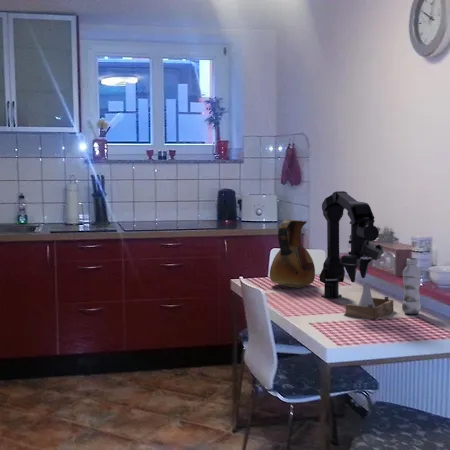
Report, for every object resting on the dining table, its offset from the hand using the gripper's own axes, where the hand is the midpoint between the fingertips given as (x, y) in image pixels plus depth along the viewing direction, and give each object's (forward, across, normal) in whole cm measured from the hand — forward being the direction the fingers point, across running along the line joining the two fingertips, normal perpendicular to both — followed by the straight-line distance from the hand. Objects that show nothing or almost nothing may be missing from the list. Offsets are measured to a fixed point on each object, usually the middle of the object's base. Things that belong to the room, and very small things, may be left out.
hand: (358, 280), depth 231 cm
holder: (+12, -1, -5) cm, 12 cm away
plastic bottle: (+12, +6, -18) cm, 22 cm away
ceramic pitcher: (+13, +28, +43) cm, 53 cm away
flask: (+11, -1, -4) cm, 12 cm away
